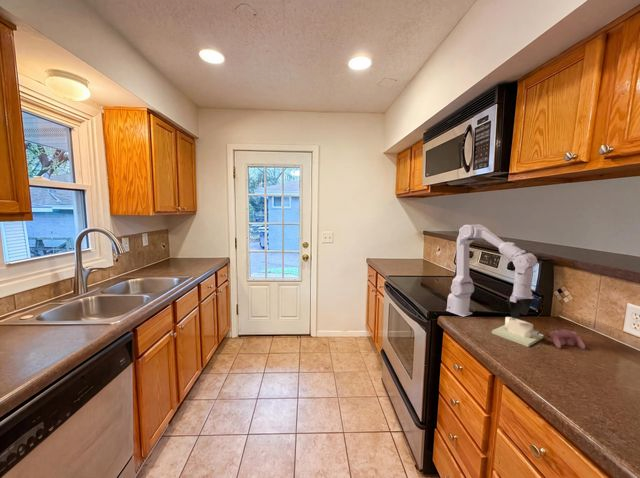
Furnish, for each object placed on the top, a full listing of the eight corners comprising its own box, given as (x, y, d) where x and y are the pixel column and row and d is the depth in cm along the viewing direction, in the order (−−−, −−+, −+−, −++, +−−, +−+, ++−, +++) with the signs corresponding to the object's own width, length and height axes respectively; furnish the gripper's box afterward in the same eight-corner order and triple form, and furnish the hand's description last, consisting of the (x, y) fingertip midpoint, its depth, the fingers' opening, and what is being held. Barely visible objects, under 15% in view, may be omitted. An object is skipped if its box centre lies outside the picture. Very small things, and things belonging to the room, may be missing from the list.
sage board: (491, 333, 115) (491, 330, 115) (507, 325, 123) (508, 323, 123) (528, 346, 105) (528, 343, 104) (543, 337, 112) (543, 334, 112)
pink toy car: (577, 349, 106) (573, 330, 109) (587, 349, 102) (582, 329, 105) (550, 347, 107) (546, 328, 110) (559, 348, 103) (554, 328, 105)
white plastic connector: (502, 329, 117) (503, 317, 116) (506, 327, 118) (508, 316, 118) (535, 340, 107) (537, 328, 106) (539, 338, 109) (540, 326, 108)
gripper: (526, 288, 104) (522, 323, 106) (542, 283, 112) (538, 315, 113) (505, 284, 110) (502, 317, 111) (522, 279, 118) (518, 310, 119)
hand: (519, 316), depth 113 cm, fingers open, 7 cm apart
